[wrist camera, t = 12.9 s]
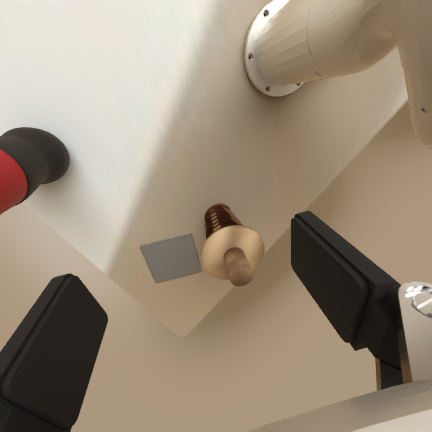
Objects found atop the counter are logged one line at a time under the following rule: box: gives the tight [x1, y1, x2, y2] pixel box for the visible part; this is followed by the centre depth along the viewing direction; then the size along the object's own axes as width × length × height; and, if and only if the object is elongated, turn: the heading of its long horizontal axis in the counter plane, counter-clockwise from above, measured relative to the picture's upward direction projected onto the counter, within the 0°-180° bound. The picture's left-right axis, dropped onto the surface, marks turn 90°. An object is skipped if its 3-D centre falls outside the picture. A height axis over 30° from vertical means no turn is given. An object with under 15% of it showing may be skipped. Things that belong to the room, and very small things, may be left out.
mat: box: [140, 234, 201, 283], centre depth 50 cm, size 12×12×1 cm
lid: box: [201, 225, 264, 286], centre depth 33 cm, size 11×11×6 cm
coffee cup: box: [205, 204, 243, 239], centre depth 41 cm, size 9×8×13 cm
